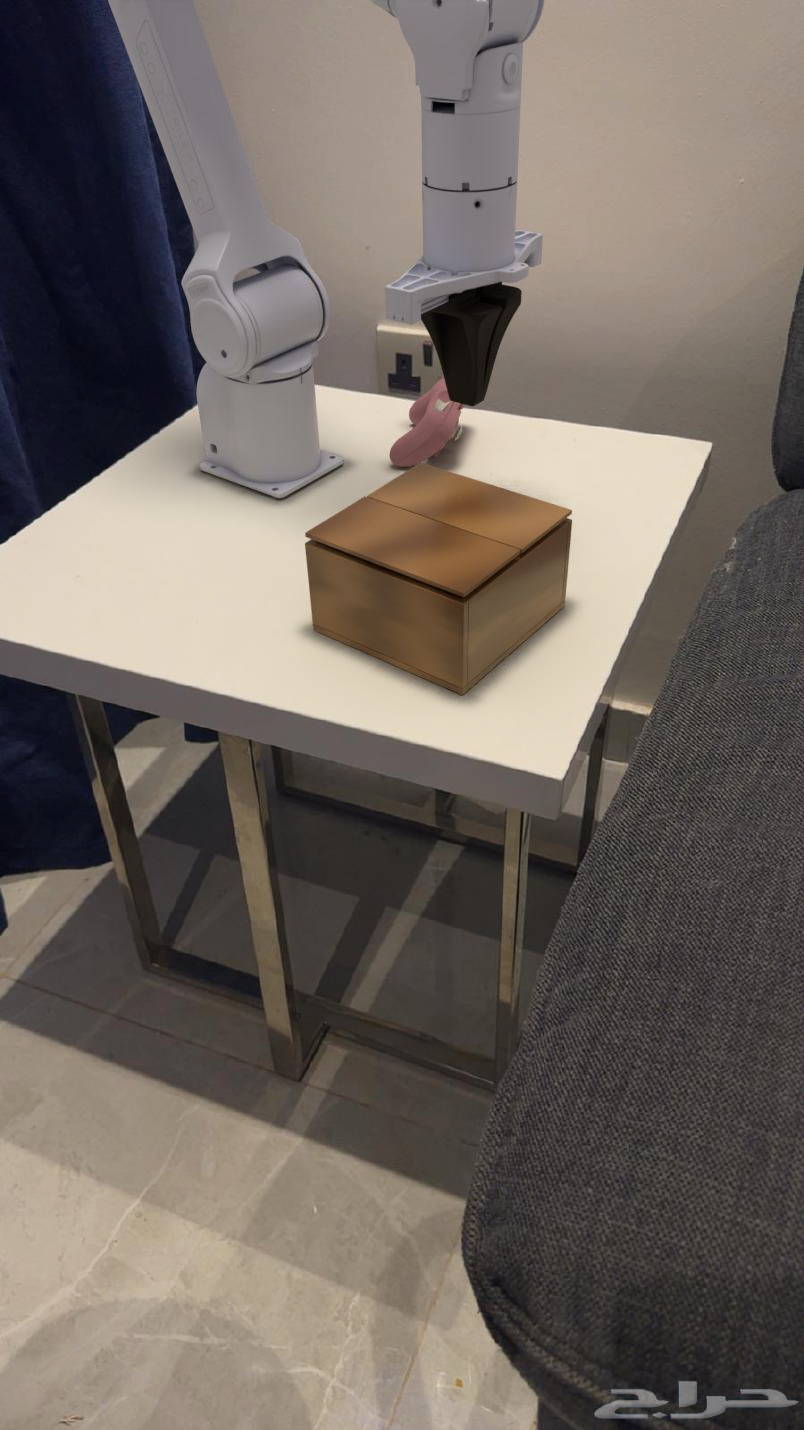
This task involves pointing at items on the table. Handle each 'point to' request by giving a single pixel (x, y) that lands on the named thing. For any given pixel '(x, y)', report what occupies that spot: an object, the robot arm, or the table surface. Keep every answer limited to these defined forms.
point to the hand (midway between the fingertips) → (466, 400)
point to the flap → (472, 505)
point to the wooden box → (431, 590)
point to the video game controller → (428, 427)
